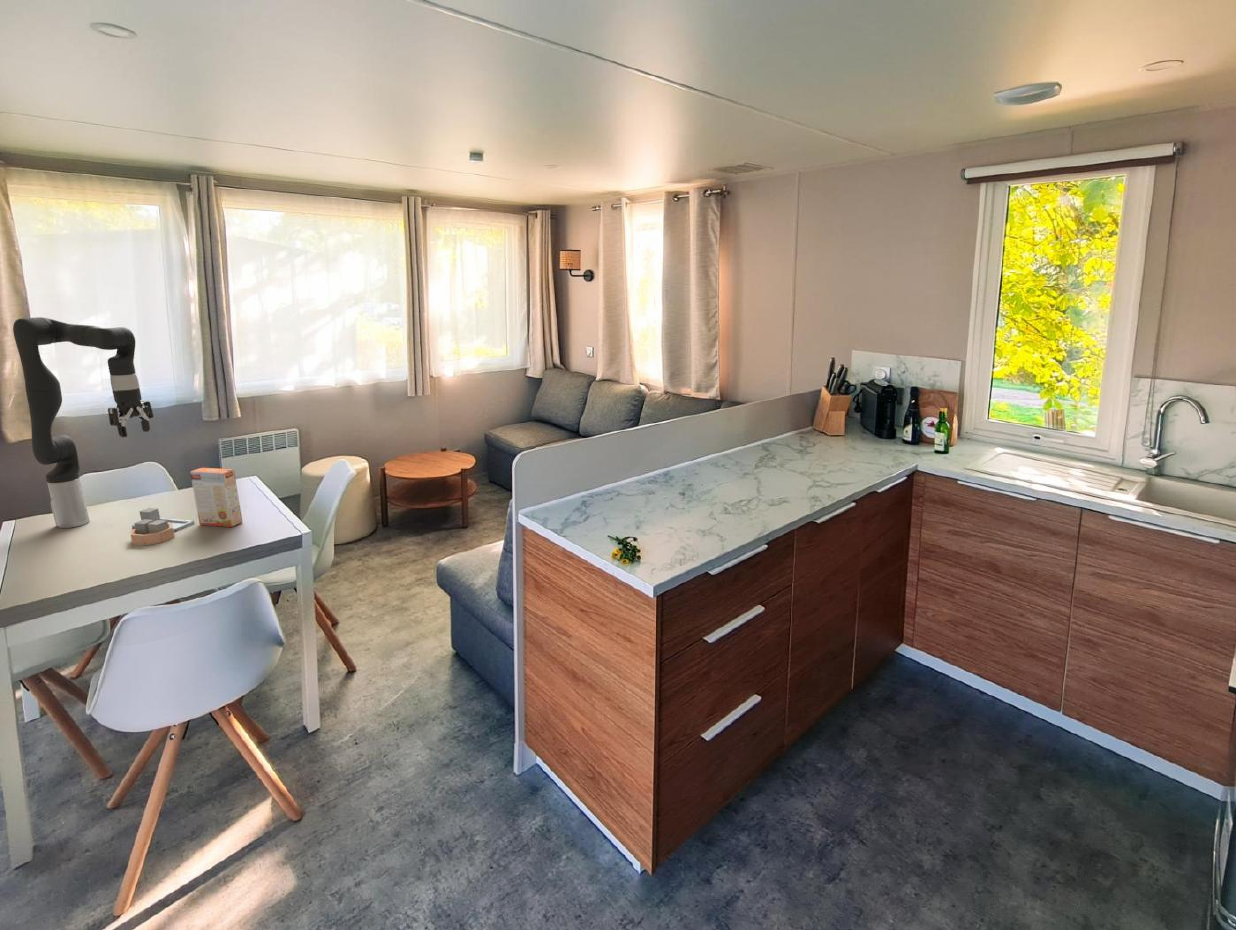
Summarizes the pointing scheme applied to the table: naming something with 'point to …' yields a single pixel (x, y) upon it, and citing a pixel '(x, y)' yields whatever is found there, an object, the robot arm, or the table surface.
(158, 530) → the grey rectangular block
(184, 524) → the tray
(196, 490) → the cracker box
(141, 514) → the gray block
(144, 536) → the bowl
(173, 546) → the table surface
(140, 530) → the gray rectangular block
